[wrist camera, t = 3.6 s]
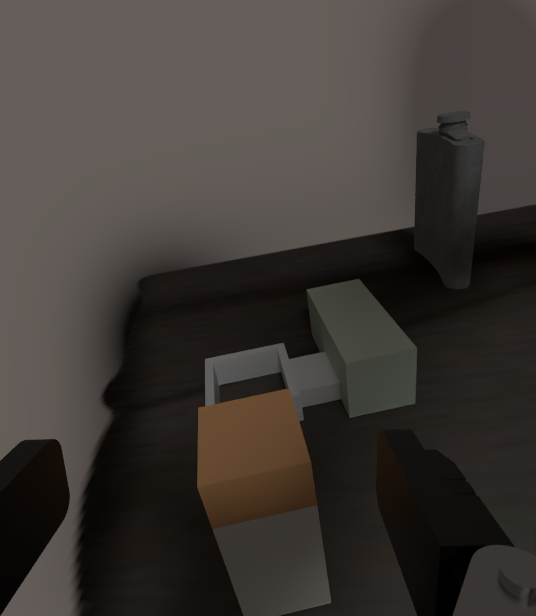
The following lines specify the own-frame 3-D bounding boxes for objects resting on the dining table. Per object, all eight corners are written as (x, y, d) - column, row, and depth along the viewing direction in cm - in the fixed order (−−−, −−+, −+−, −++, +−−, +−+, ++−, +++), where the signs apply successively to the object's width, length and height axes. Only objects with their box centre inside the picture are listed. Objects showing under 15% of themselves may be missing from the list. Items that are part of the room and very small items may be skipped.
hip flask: (411, 246, 66) (414, 111, 56) (437, 243, 65) (444, 106, 56) (448, 291, 52) (461, 120, 42) (481, 286, 51) (501, 114, 42)
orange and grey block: (311, 522, 28) (289, 388, 22) (331, 603, 23) (311, 461, 18) (239, 539, 27) (198, 407, 22) (246, 623, 23) (197, 487, 17)
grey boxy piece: (361, 324, 48) (358, 278, 45) (415, 403, 36) (417, 348, 33) (210, 355, 47) (198, 311, 44) (213, 447, 35) (197, 395, 32)
